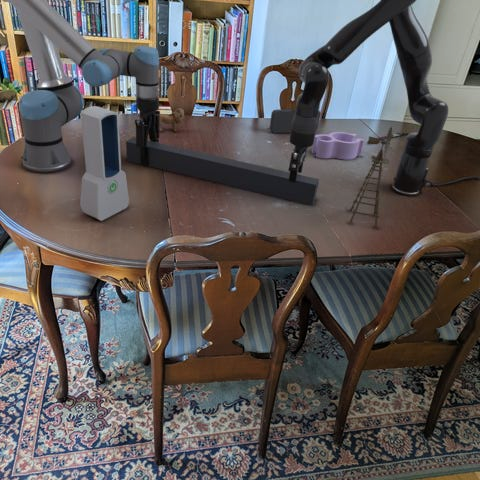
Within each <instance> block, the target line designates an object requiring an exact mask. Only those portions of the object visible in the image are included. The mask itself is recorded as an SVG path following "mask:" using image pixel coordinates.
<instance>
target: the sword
mask: <svg viewBox="0 0 480 480" xmlns="http://www.w3.org/2000/svg"><path fill="white" fill-rule="evenodd" d="M401 133H402V132H396V133H392V136H391V138H393V137H401V136H403V135H404V134H401ZM409 134H410V133H406V134H405V135H409ZM376 138H377V139H379V140H380V141H382V140H386V138H387V135H384V136H381V137H376Z"/></svg>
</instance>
